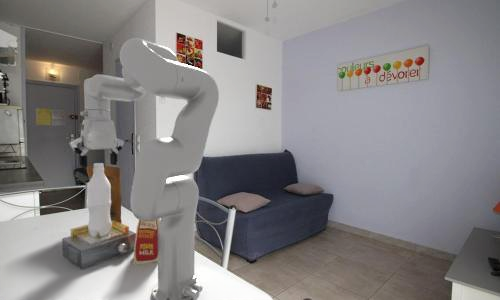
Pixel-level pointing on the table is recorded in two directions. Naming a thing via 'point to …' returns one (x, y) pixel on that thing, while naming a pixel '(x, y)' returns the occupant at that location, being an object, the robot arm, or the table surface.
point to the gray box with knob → (97, 245)
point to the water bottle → (99, 202)
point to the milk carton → (146, 242)
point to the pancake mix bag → (112, 189)
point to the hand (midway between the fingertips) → (99, 166)
